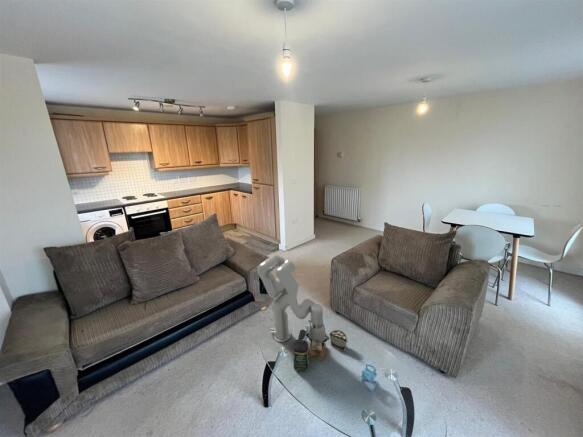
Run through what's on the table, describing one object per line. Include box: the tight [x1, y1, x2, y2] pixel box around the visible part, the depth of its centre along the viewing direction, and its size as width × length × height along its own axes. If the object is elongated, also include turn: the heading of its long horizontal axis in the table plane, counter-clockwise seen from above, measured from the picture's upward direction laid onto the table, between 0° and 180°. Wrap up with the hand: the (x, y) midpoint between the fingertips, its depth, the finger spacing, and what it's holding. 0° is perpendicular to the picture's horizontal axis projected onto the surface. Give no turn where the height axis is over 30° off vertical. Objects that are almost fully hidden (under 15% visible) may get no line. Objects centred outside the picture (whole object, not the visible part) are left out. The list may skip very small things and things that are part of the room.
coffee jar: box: [292, 339, 310, 372], centre depth 146 cm, size 10×8×19 cm
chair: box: [360, 363, 379, 394], centre depth 134 cm, size 8×8×12 cm
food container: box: [328, 329, 348, 352], centre depth 160 cm, size 12×6×10 cm, turn 58°
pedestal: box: [308, 342, 327, 361], centre depth 157 cm, size 10×10×4 cm
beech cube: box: [312, 340, 322, 351], centre depth 154 cm, size 6×6×6 cm
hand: (317, 345), depth 155 cm, fingers closed on beech cube, 6 cm apart
